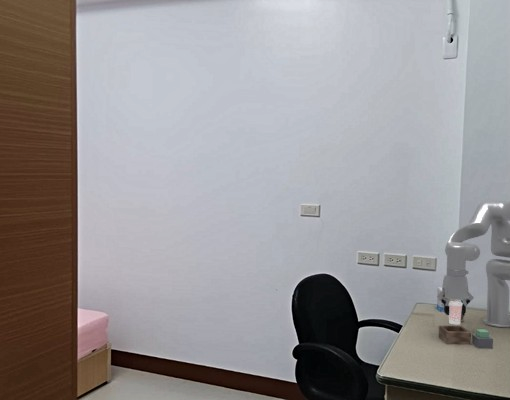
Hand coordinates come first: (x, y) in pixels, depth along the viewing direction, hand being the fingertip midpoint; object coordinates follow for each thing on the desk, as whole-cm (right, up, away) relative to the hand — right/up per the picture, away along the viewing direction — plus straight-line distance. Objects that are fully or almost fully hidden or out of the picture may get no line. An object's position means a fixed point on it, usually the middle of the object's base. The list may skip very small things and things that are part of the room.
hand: (454, 314), depth 215 cm
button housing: (+9, -12, -7) cm, 16 cm away
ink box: (+17, -10, +53) cm, 56 cm away
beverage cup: (0, -4, 0) cm, 4 cm away
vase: (+14, -11, +32) cm, 37 cm away
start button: (+9, -10, -7) cm, 15 cm away
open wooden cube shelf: (0, -11, 0) cm, 11 cm away
